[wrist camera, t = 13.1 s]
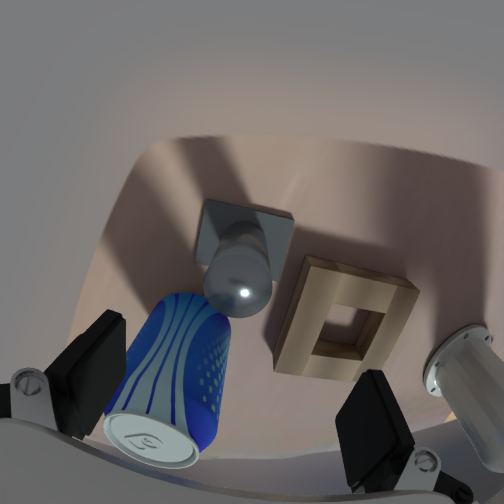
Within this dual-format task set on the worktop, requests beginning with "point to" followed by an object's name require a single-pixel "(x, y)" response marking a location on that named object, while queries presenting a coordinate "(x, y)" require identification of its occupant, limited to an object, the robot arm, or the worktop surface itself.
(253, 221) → the mat
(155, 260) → the worktop surface
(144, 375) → the beer can
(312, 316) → the pocket block
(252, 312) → the rod
